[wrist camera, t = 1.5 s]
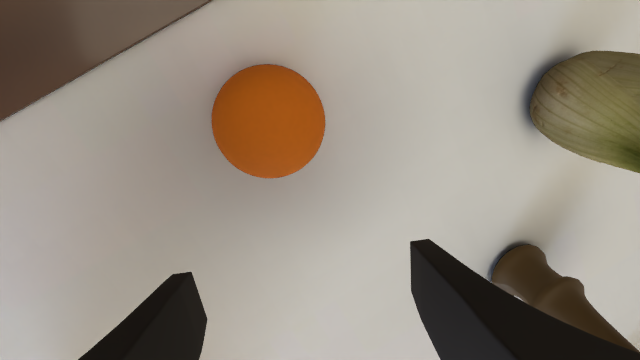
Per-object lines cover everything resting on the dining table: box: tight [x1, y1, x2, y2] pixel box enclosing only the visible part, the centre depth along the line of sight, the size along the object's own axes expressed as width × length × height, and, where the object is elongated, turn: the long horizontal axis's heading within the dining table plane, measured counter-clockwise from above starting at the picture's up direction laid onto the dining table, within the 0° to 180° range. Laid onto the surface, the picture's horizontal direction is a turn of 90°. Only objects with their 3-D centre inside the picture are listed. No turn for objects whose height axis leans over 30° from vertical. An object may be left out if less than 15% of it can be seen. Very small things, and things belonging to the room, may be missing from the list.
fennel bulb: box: [530, 51, 640, 173], centre depth 19 cm, size 6×5×12 cm
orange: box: [212, 64, 325, 178], centre depth 17 cm, size 6×6×6 cm
